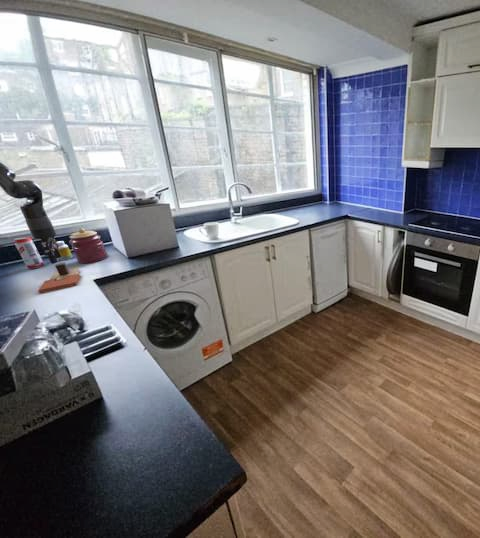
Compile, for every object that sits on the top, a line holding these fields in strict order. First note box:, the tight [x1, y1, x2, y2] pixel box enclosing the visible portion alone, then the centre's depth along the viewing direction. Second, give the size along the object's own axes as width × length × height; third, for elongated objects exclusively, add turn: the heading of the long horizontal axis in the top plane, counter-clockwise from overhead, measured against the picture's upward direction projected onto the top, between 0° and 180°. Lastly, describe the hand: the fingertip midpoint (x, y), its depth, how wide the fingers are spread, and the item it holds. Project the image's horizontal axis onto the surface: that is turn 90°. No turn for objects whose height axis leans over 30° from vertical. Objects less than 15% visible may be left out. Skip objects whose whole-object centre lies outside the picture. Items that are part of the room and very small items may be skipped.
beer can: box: [13, 236, 45, 270], centre depth 152 cm, size 6×6×16 cm
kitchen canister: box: [68, 227, 108, 264], centre depth 160 cm, size 13×13×18 cm
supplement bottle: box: [56, 240, 74, 261], centre depth 164 cm, size 5×5×10 cm
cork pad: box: [49, 262, 80, 281], centre depth 139 cm, size 9×12×6 cm
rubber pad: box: [38, 273, 81, 294], centre depth 133 cm, size 12×12×2 cm
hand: (56, 260), depth 138 cm, fingers open, 8 cm apart
